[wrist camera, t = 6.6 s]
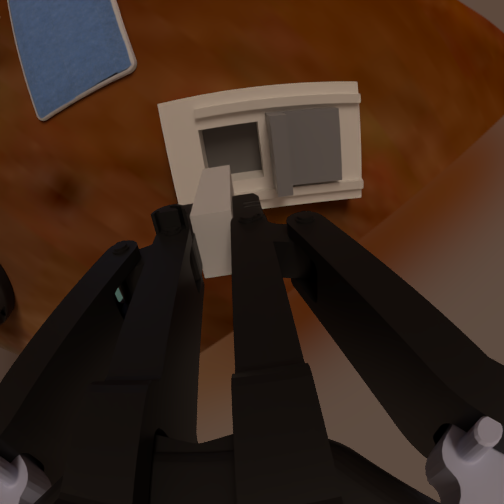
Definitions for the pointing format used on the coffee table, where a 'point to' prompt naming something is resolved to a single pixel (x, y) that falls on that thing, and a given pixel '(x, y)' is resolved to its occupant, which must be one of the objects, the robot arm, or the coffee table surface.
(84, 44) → the blue flat panel
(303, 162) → the shutter
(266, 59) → the coffee table surface
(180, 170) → the grey tray
